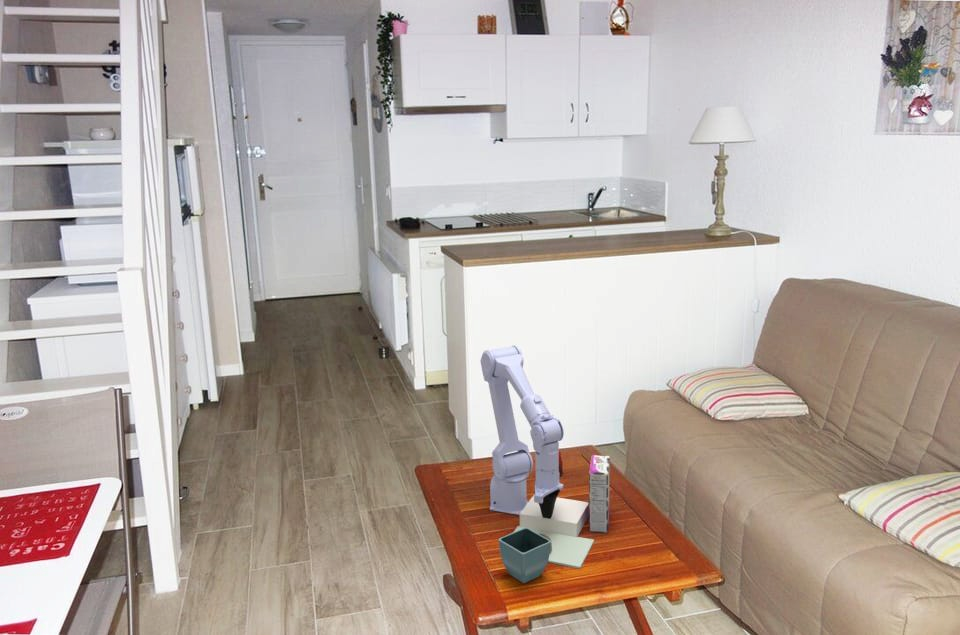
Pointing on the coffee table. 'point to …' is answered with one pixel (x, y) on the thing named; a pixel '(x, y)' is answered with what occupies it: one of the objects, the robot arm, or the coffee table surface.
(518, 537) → the flower pot
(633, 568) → the coffee table surface
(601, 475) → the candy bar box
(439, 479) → the coffee table surface
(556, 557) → the placemat
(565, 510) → the riser
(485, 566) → the coffee table surface
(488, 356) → the robot arm
